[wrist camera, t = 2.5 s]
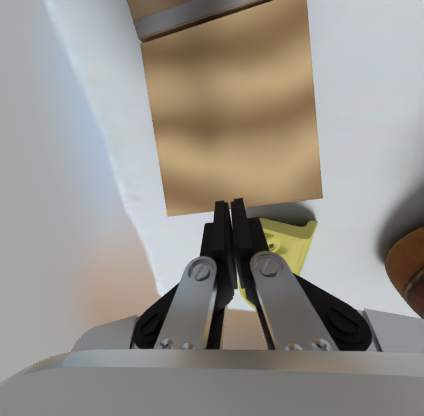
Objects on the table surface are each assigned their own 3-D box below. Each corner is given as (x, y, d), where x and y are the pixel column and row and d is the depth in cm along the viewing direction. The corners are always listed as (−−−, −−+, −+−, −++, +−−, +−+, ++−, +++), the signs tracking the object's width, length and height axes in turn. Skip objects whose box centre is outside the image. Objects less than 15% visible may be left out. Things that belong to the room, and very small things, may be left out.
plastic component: (242, 222, 24) (319, 244, 20) (257, 202, 30) (319, 215, 25) (237, 300, 34) (287, 326, 29) (248, 274, 39) (293, 293, 35)
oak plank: (149, 57, 16) (140, 44, 15) (298, 11, 14) (305, -11, 12) (173, 214, 17) (167, 216, 16) (314, 197, 15) (322, 198, 13)
